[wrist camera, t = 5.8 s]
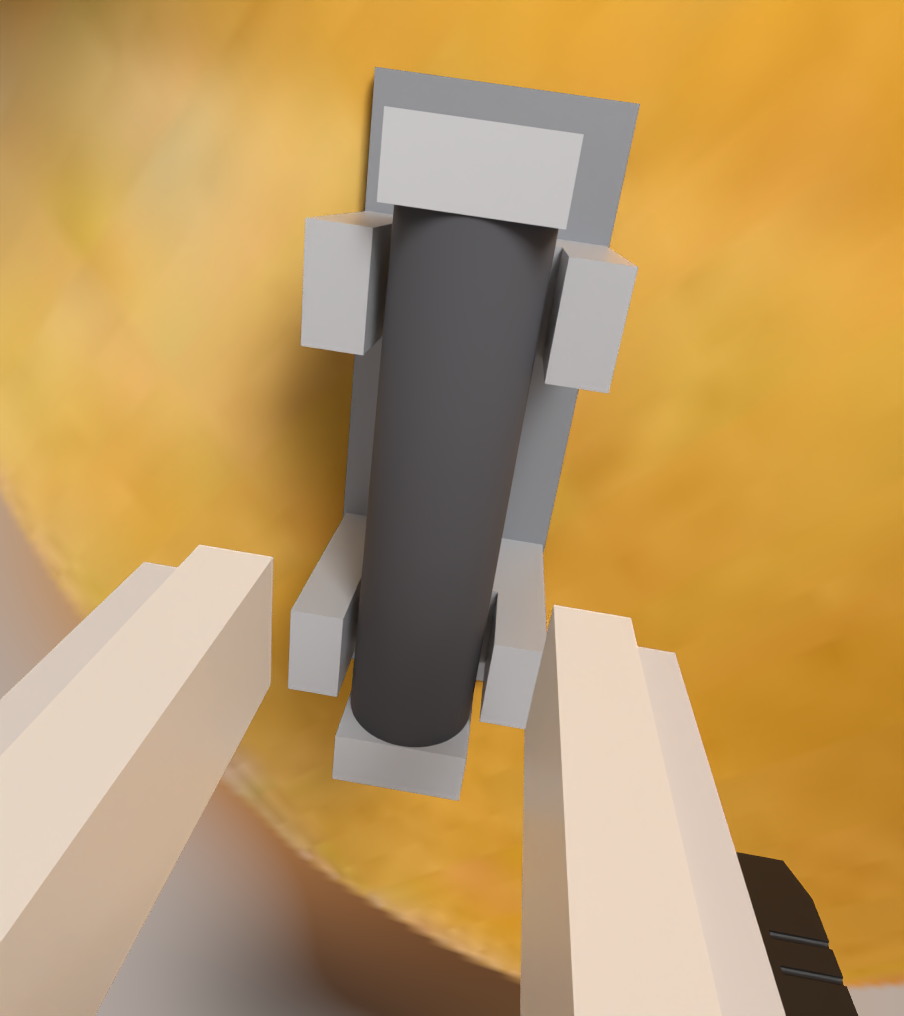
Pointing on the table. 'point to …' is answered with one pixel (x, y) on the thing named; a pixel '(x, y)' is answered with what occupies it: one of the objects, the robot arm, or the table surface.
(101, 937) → the u-shaped clip
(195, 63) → the table surface
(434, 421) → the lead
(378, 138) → the cradle
